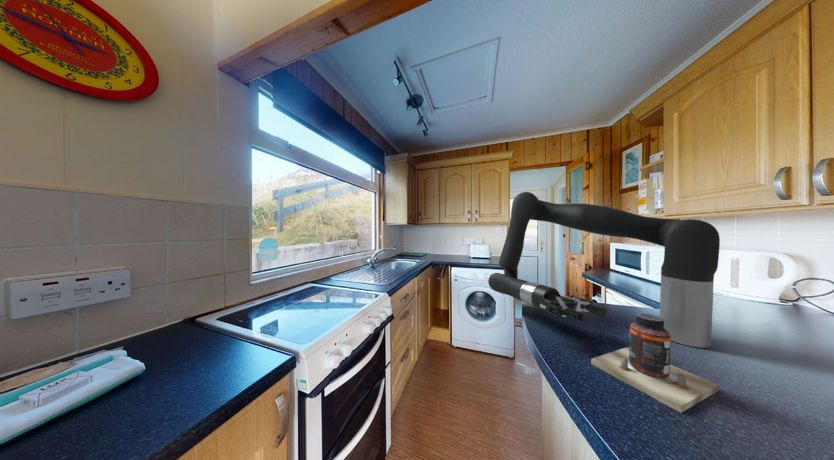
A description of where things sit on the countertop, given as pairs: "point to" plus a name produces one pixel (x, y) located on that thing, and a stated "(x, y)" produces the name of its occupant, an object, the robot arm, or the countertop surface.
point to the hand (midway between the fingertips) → (594, 315)
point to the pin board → (658, 381)
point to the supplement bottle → (650, 346)
